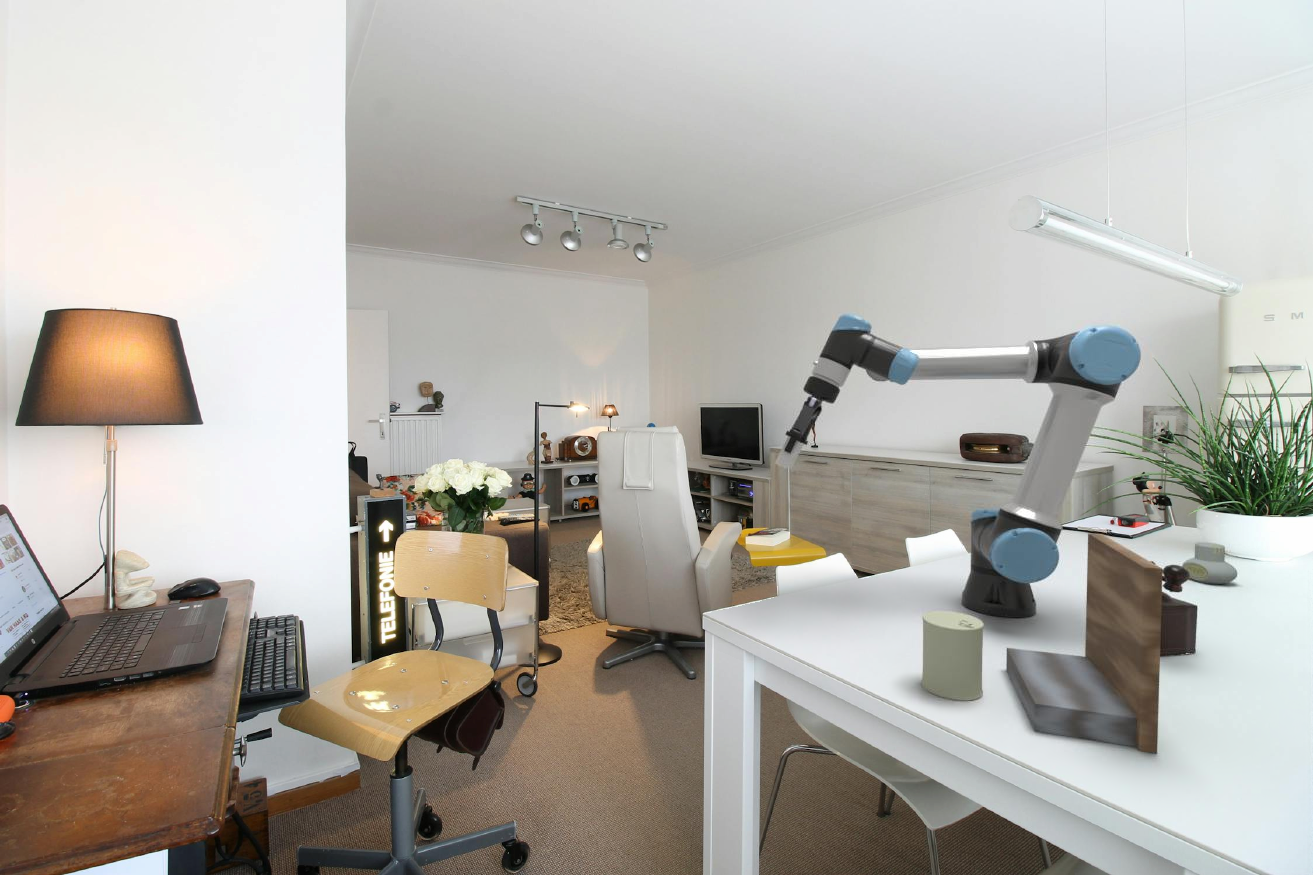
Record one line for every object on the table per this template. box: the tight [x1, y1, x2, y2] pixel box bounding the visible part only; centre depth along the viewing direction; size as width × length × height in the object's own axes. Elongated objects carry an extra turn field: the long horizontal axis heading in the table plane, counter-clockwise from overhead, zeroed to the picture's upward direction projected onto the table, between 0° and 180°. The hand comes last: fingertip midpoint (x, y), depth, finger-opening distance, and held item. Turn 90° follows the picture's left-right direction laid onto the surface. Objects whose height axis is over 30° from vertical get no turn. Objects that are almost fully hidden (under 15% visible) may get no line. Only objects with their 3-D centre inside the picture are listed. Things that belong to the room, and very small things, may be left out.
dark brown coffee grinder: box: [1149, 560, 1199, 657], centre depth 116 cm, size 16×11×18 cm
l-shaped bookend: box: [1006, 532, 1164, 754], centre depth 95 cm, size 14×24×25 cm, turn 159°
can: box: [921, 610, 985, 702], centre depth 101 cm, size 9×9×12 cm
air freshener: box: [1181, 541, 1238, 585], centre depth 162 cm, size 11×8×10 cm
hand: (783, 466), depth 138 cm, fingers open, 13 cm apart
